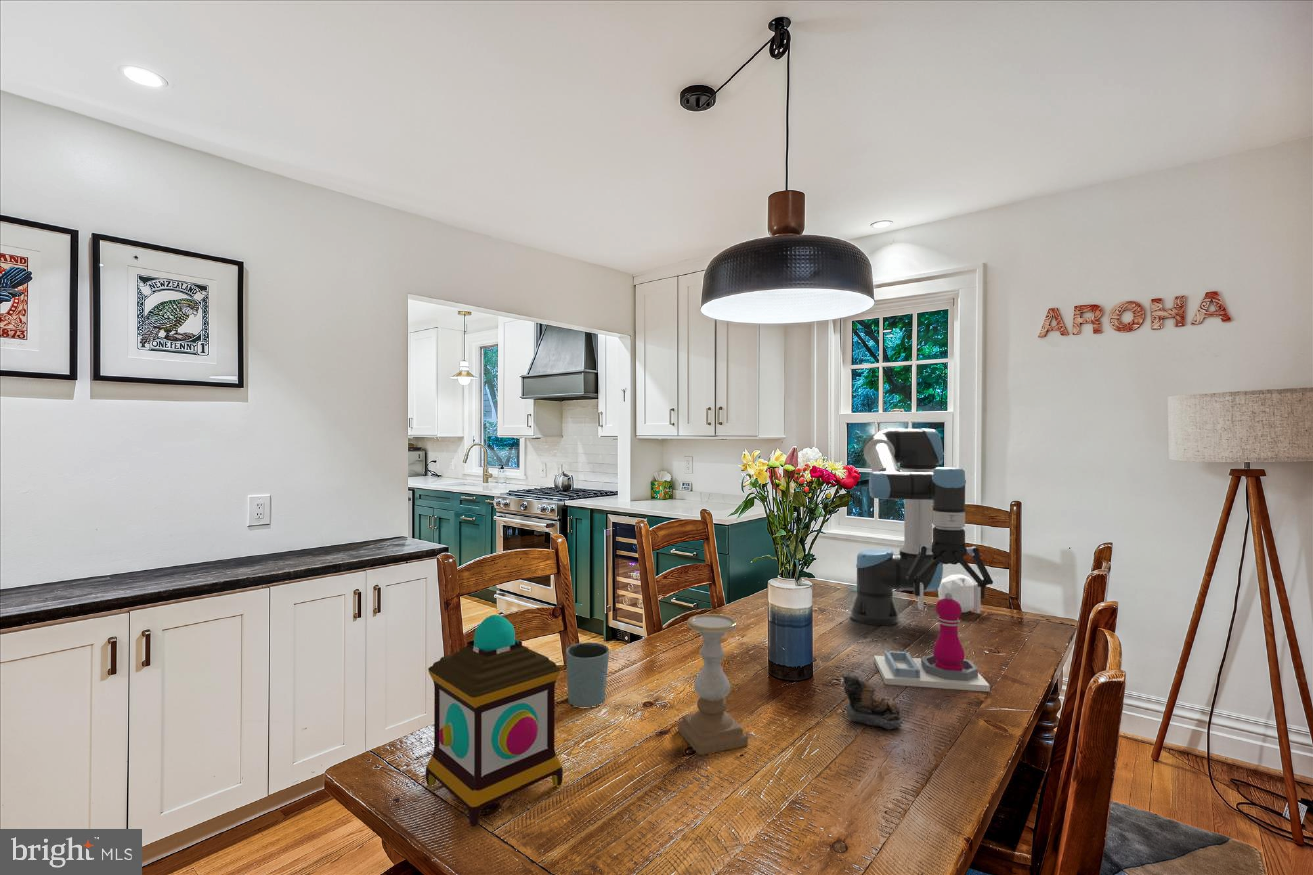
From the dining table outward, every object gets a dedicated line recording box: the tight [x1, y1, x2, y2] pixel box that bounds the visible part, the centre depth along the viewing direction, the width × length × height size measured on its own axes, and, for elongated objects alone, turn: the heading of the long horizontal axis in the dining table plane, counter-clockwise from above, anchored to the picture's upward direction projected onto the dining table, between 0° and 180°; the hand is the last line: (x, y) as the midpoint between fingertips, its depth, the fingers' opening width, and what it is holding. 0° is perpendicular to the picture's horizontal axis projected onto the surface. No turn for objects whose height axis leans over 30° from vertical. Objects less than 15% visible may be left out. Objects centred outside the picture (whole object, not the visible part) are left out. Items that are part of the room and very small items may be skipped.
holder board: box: [873, 650, 991, 693], centre depth 155 cm, size 16×24×4 cm, turn 80°
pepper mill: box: [932, 593, 965, 671], centre depth 154 cm, size 7×7×20 cm
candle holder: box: [677, 613, 749, 756], centre depth 122 cm, size 11×11×24 cm
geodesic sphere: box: [937, 573, 976, 613], centre depth 213 cm, size 14×14×14 cm
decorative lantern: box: [425, 614, 564, 828], centre depth 105 cm, size 20×20×30 cm
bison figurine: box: [842, 673, 903, 730], centre depth 128 cm, size 12×7×10 cm, turn 70°
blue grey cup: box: [565, 642, 610, 707], centre depth 139 cm, size 10×10×12 cm
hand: (948, 609), depth 154 cm, fingers open, 13 cm apart
